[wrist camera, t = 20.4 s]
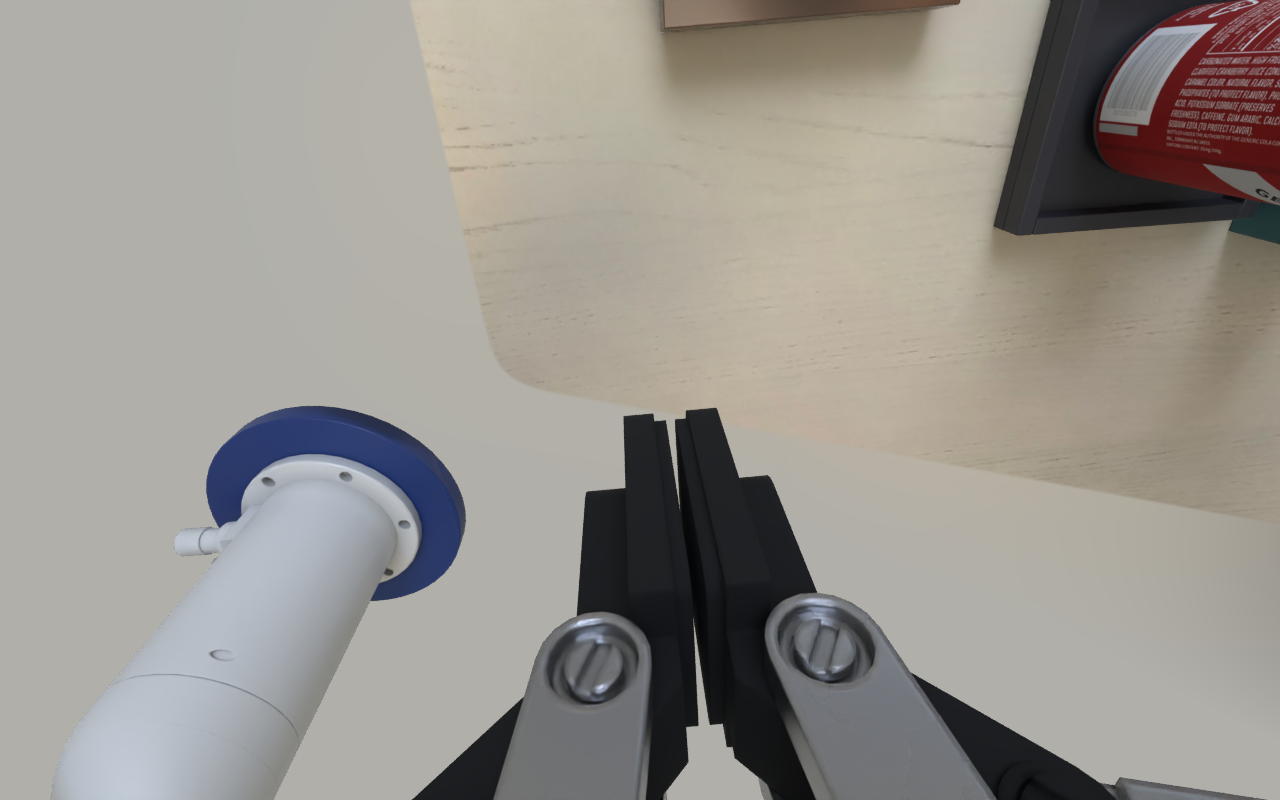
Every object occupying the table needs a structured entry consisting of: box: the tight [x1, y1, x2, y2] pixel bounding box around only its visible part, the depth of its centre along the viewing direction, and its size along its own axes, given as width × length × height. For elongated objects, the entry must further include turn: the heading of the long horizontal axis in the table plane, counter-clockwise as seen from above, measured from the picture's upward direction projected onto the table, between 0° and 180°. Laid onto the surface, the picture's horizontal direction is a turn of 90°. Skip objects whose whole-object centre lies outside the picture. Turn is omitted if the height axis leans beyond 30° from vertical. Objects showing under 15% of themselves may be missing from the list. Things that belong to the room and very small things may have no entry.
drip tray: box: [994, 0, 1260, 236], centre depth 25 cm, size 12×12×2 cm
